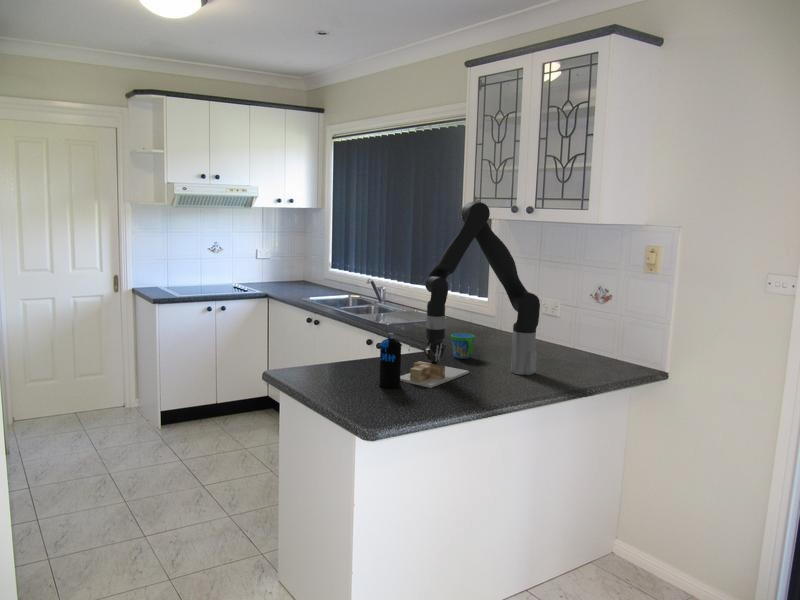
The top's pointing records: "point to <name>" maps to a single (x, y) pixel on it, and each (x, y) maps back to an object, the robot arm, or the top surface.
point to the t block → (426, 371)
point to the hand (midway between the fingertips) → (434, 369)
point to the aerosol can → (390, 363)
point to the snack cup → (462, 345)
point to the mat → (431, 382)
